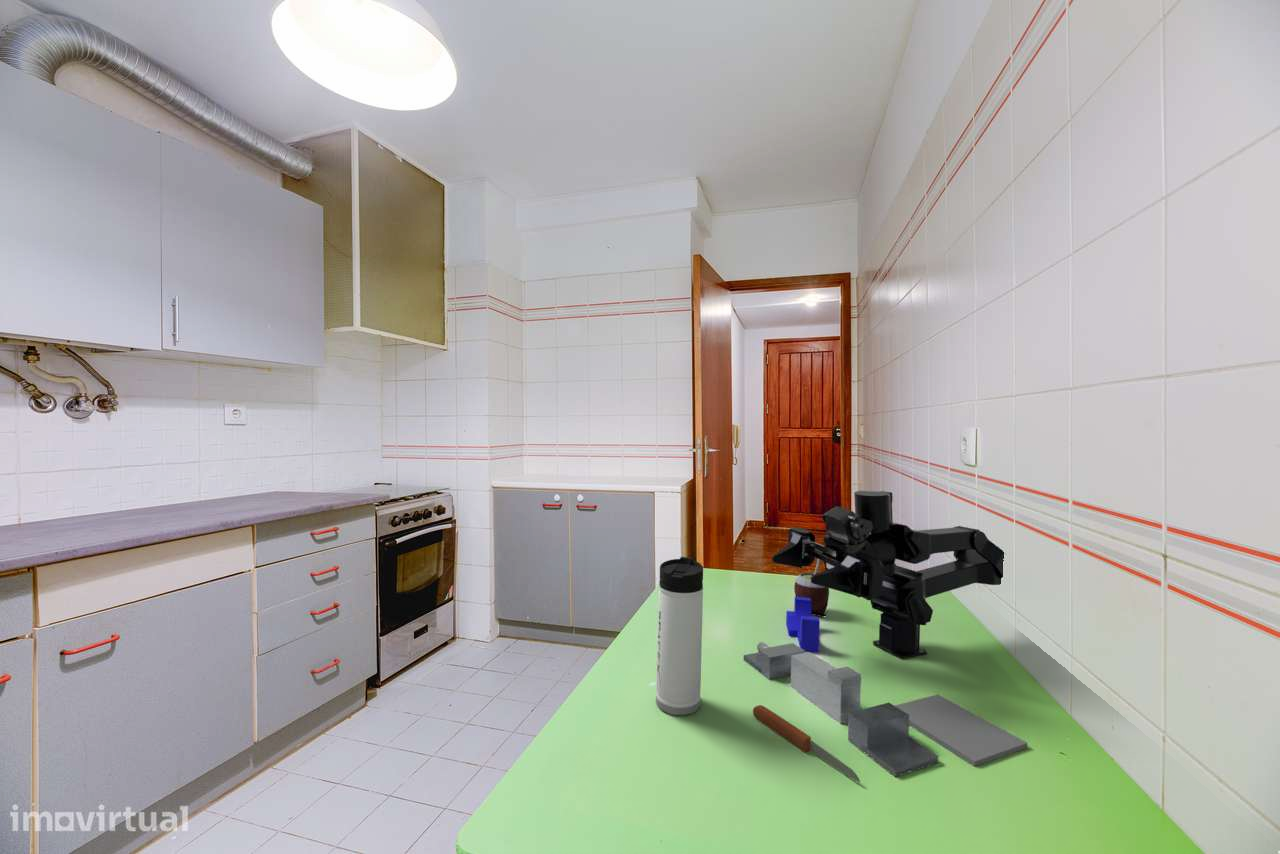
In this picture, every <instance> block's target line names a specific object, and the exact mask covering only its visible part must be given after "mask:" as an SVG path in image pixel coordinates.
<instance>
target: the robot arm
mask: <svg viewBox="0 0 1280 854" xmlns="http://www.w3.org/2000/svg"><path fill="white" fill-rule="evenodd" d="M853 497H854V511H853V510H850V509H847V508H844V507H841V506H834V507H833V508H831V509H830V510H828V511H826V512H824V513H823V514H822V515H821V519H822V521H823V523H824V526H825V529H826V533H827V535H826V534H825V535H823V537H822V538H823V539H822V541H823V543H824V545H822V544H820V543H818V542H816V535H814V534H813V532H811V531H810V530H807V529H804V528H801V527H799V526H797V527H791V528H789V529H788V532H787V533H788V535H787V536H788V537H787V539H788V540H787V544H786V545H785V546H784V547H783V548H781V549H780V550H778V551H777V552H776V553H774V554H772V556H771V562H772V563H774V564H778V565H783V566H789V567H795V568H800V569H803V567H809V566H812V564H813V563H814V562H815V558H816V559H817V560H818V559H820V560H822V561H821V562H823V564H824V570H823V571H819V572H817V574H815V575H812V576H811V583H813V584H816V585H820V586H824V587H827V588H829V589H831V590H835V591H838V592H842V593H845V594H848V595H852V596H855V597H857V598H862V599H865V600H867V601H870V605H871V608H872V609H873V610H876V611H879V612H881V613H880V623H879V626H878V629H879V630H878V634H879V635H878V639H877V640H873V641H872V644H873V645H874V646H876V647H878V648H880V649H882V650H884V651H886V652H888V653H890V654H892V655H894V656H896V657H898V658H899V659H903V660H904V659H909V658H913V657H917V656H923V655H927V654H928V649H925V648H923V647H921V646H920V642H921V639H920V638H921V636H920V635H921V626H927V623H930V622H931V620H932V616H933V612H934V609H933V608H932V607H931V606H930V604H929V603H928V602H927V598H928V599H929V598H930V597H934V596H937V595H939V594H940V595H941V594H943V593H947V592H950V591H954V590H957V589H960V588H963V587H966V586H970V585H973V584H980V585H981V584H982V585H990V586H998V585H999V586H1000V584H1001V578H1002V577H1003V561H1004V560H1003V559H1004V552H1005V551H1004V550H1003V549H1002V548H1000V547H999V546H998V545H997V544H995V543H993V542H992V540H991V541H990V540H989V538H988V537H987V535H986V534H985V532H983V531H981V530H980V529H977V528H971V527H966V526H961V525H957V526H953V527H945V528H933V529H921V530H917V529H916V530H915V529H911V527H910V526H909V525H906V524H901V523H897V522H893V499H894V498H893V492H890V491H884V490H881V491H874V490H873V491H871V490H870V491H869V490H867V491H866V490H857V491H855V492H854V496H853ZM1003 551H1004V552H1003ZM949 552H950V553H951V552H953V557H954V559H955V560H954V561H950V562H946V563H943V564H938V565H935V566H932V567H928V568H924V569H921V570H914V569H913V570H912V569H909V568H907V567H903V566H900V565H897V564H896V563H895V561H896V560H898V561H902V562H905V563H909V564H913V565H916V564H919V563H920V564H921V563H922V562H925V561H928V560H929V559H930V558H931V555H934V554H942V553H949Z"/></svg>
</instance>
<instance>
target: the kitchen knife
mask: <svg viewBox="0 0 1280 854" xmlns="http://www.w3.org/2000/svg"><path fill="white" fill-rule="evenodd" d="M752 714H753V716H754V718H755V719H756V720H757V721H758V722H760V723H761V724H762V725H764V726H765V727H767V728H768V729H770V730H771V731H772V732H774V731H775V732H774V733H777V734H778V735H779V736H780V737H782V738H784V739H786V740H787V741H789V742H790V743H792V744H793V745H795V746H796V747H797V748H798V749H799V750H801V752H803V753H807V752H809V753H810V752H811V754H813V755H815V756H816V757H818V758H819V759H821V760H823V761H824V762H825V763H827V764H828V765H830V766H832V767H834V768H835V769H837V770H839V771H840V772H842V773H843V774H845V775H846V776H848V777H850V778H852V780H855V781H856V782H858V783H861V780H860V778H859V776H858V774H857V773H856V772H855V771H854V770H853V769H852V768H851V767H850V766H848V765H847V764H845V763H844V762H843V761H841V760H840V759H838V758H837V757H836V756H834V755H833V754H832V753H830V752H829V751H828V750H826V749H825V748H823V747H822V746H820V745H819V744H818V743H816V742H814V741H813V740H812V738H811V736H810V735H809V734H807V733H806V732H804V731H803V730H801V729H800V728H798V727H797V726H795V725H794V724H792V723H790V722H789V721H788V720H786V719H785V718H783V717H781V716H780V715H778V714H777V713H775V712H774V711H772V710H771V709H769V708H767V707H766V706H764V705H761V704H759V705H756V706H754V707H753V709H752Z"/></svg>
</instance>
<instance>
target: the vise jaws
mask: <svg viewBox="0 0 1280 854" xmlns="http://www.w3.org/2000/svg"><path fill="white" fill-rule="evenodd" d="M756 650H757V652H753V653H748V654H744V655H743V661H745V662H746V663H747V664H748V665H750V666H751V667H752V668H753V667H754V669H755V670H756V671H757V670H758V671H757V672H759V673H760V674H761V675H762V676H764V677H765V678H766V679H768V680H769V681H770V680H774V678H775V679H779V677H780V678H784V676H785V677H788V676H789V675H790V676H791V655H796V654H802V653H806V652H805V650H803V649H802V648H800V646H799V645H797V644H796V643H793V642H792V643H786V644H781V645H774V646H769V645H767V644H766V643H765V642H763V641H760V642H758V643H757V645H756ZM847 724H848V725H847V726H848V728H847V730H848V731H847V732H848V733H847V740H849V741H850V742H849V741H848V742H849V743H850V744H852V743H853V744H854V745H853V744H852V745H853V746H855V747H856V748H857V747H858V748H859V749H858V748H857V749H858V750H860V751H861V750H862V751H863V752H862V751H861V752H862V753H864V752H865V753H866V754H868V755H867V757H869V756H870V757H871V758H873V759H874V760H875V761H876V762H875V761H874V760H873V759H872V760H873V761H874V762H875V763H877V762H878V763H879V764H880V765H881V766H880V765H879V764H878V763H877V764H878V765H879V766H880V767H882V766H883V767H884V768H885V769H884V768H883V767H882V768H883V769H884V770H886V771H887V772H888V771H889V772H888V773H890V774H891V775H892V774H893V775H894V776H893V775H892V776H893V777H895V776H897V777H900V776H902V775H901V774H903V775H905V774H904V773H906V774H908V773H907V772H909V771H912V772H914V771H913V770H915V771H917V770H916V769H918V770H920V769H919V768H921V769H923V768H922V767H924V768H927V767H929V766H928V765H930V766H933V765H935V763H936V764H938V763H939V755H938V754H936V753H934V752H933V751H931V750H930V749H929V748H927V747H925V746H924V745H922V744H921V743H919V742H918V741H917V740H915V739H913V738H912V737H911V736H910V735H909V733H910V725H909V714H907V713H905V712H904V711H902V710H900V709H899V708H897V707H896V706H895V705H894V704H893V703H891V702H886V703H881V704H878V705H874V706H870V707H866V708H863V709H862V708H861V709H860V710H858V711H854V712H850V713H849V720H848V722H847ZM865 753H864V754H865ZM866 754H865V755H866ZM870 757H869V758H870ZM871 758H870V759H871ZM932 764H933V765H932ZM926 766H927V767H926ZM909 773H910V772H909ZM899 775H900V776H899Z"/></svg>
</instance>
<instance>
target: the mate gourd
mask: <svg viewBox="0 0 1280 854" xmlns="http://www.w3.org/2000/svg"><path fill="white" fill-rule="evenodd" d="M822 562H823V561H822V560H820V559H818V558H817V560H816V566H815V569H814V573H813V572H802V573H800V574H799V575H798V576H797V577H796V578H795V582H794V587H793V588H794V598H795V597H804V598H810V599H811V614H816V615H815V616H817V615H820V616H819V617H822V616H827V614H826V610H827V607H828V604H829V599H830V598H829V597H830V588H827V587H824V586H820V585H816V584H813V583H811V576H812V575H815V574H817V573H819V572H818V571H819V568H820V564H821V563H822Z"/></svg>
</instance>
